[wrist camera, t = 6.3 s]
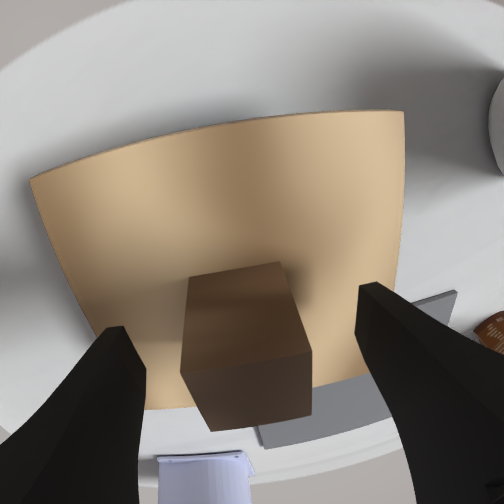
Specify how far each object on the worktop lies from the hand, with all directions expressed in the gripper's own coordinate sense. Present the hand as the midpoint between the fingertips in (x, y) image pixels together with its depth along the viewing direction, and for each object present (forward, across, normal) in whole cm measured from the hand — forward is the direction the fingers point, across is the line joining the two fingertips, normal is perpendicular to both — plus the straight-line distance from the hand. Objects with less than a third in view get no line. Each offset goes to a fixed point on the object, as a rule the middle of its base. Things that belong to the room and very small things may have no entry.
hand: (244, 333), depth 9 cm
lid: (+3, 0, 0) cm, 3 cm away
